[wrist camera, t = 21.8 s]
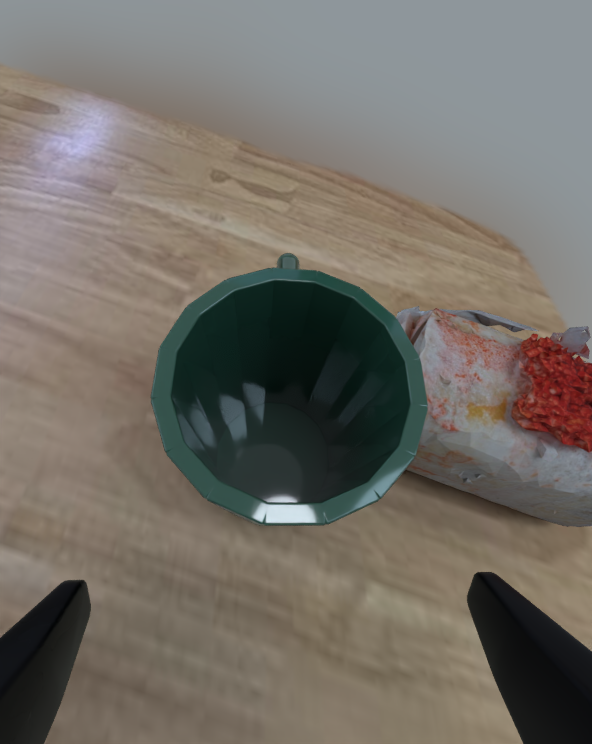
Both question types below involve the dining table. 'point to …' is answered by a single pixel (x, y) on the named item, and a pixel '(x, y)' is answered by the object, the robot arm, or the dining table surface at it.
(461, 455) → the food item
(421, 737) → the dining table surface
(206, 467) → the mug
